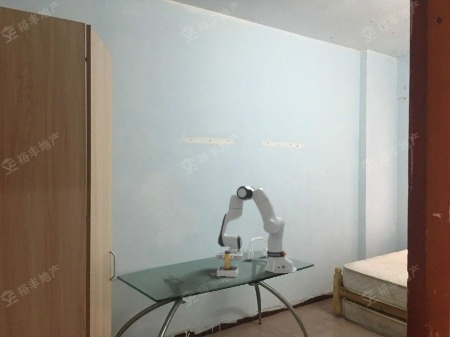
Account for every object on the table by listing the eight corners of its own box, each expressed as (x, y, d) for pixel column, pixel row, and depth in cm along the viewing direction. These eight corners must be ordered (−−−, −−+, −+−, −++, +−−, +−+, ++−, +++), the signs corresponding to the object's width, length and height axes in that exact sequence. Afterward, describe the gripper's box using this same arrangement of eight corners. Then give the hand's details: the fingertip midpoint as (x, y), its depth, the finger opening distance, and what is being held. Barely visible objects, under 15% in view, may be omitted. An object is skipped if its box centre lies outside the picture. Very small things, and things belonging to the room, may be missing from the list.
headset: (250, 260, 281) (250, 239, 282) (246, 259, 287) (245, 238, 288) (269, 257, 292) (269, 236, 292) (264, 255, 298) (263, 235, 298)
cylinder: (230, 270, 246) (230, 250, 246) (230, 272, 242) (229, 251, 243) (225, 270, 247) (225, 250, 247) (224, 271, 243) (224, 251, 243)
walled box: (238, 271, 250) (238, 266, 250) (236, 276, 237) (236, 271, 237) (220, 271, 252) (219, 265, 252) (216, 276, 239) (216, 270, 239)
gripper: (218, 249, 260) (213, 254, 246) (244, 251, 255) (240, 255, 242) (218, 258, 260) (213, 262, 246) (244, 259, 255) (240, 264, 241)
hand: (227, 259), depth 244 cm, fingers closed on cylinder, 4 cm apart
